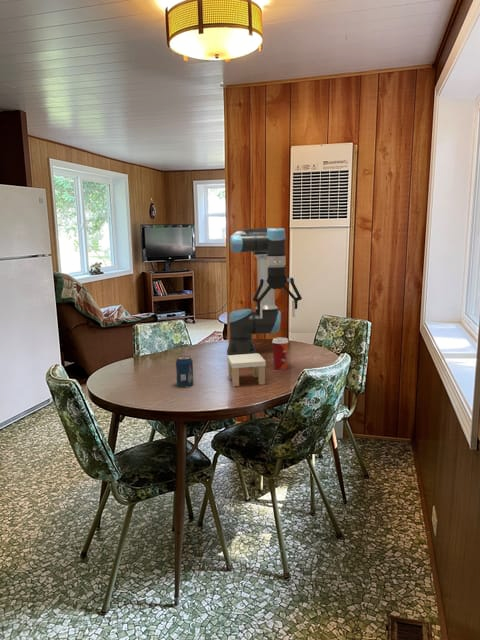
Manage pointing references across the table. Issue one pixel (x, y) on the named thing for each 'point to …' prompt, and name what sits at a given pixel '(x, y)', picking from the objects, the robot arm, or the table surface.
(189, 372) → the soda can
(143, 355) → the table surface
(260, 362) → the small white stool
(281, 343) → the paper cup
